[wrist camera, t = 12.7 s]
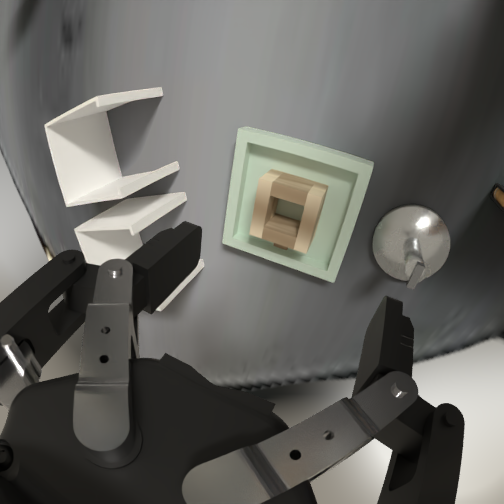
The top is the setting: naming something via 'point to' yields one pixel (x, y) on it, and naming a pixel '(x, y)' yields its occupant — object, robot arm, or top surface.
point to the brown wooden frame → (282, 227)
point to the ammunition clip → (498, 196)
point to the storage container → (107, 181)
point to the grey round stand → (411, 243)
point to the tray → (306, 166)
